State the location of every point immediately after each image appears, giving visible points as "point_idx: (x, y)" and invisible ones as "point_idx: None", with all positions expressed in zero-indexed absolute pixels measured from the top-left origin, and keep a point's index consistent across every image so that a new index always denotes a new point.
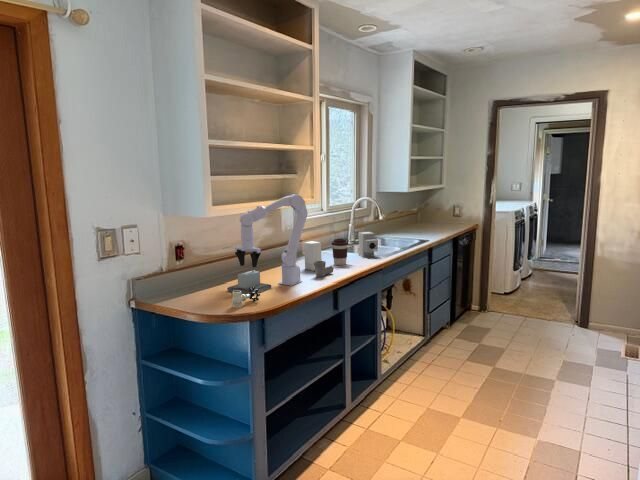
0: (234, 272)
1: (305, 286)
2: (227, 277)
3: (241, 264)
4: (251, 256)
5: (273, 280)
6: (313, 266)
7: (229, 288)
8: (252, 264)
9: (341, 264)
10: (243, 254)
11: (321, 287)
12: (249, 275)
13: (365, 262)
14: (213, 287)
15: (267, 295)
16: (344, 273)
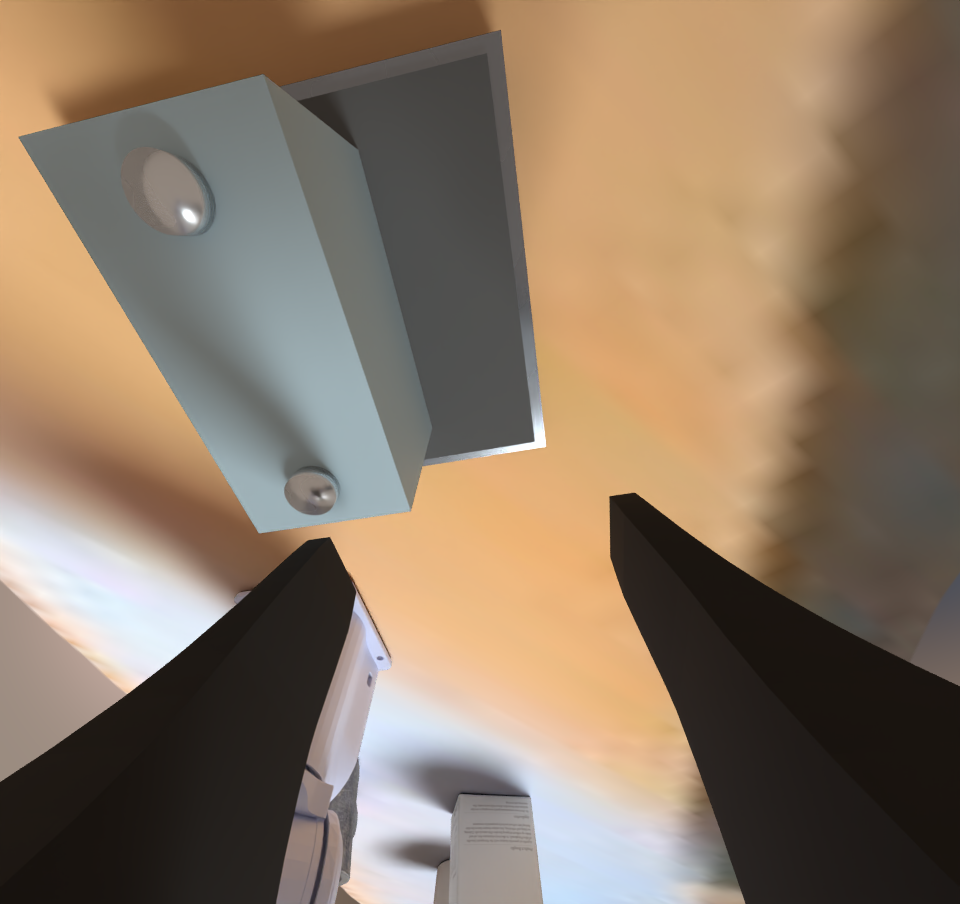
0: (925, 603)
1: (171, 626)
2: (905, 485)
3: (621, 518)
4: (50, 810)
5: (470, 613)
6: (458, 825)
7: (455, 45)
8: (289, 575)
9: (442, 866)
10: (744, 840)
11: (92, 655)
12: (117, 280)
13: (407, 894)
14: (836, 65)
15: (21, 288)
16: None
